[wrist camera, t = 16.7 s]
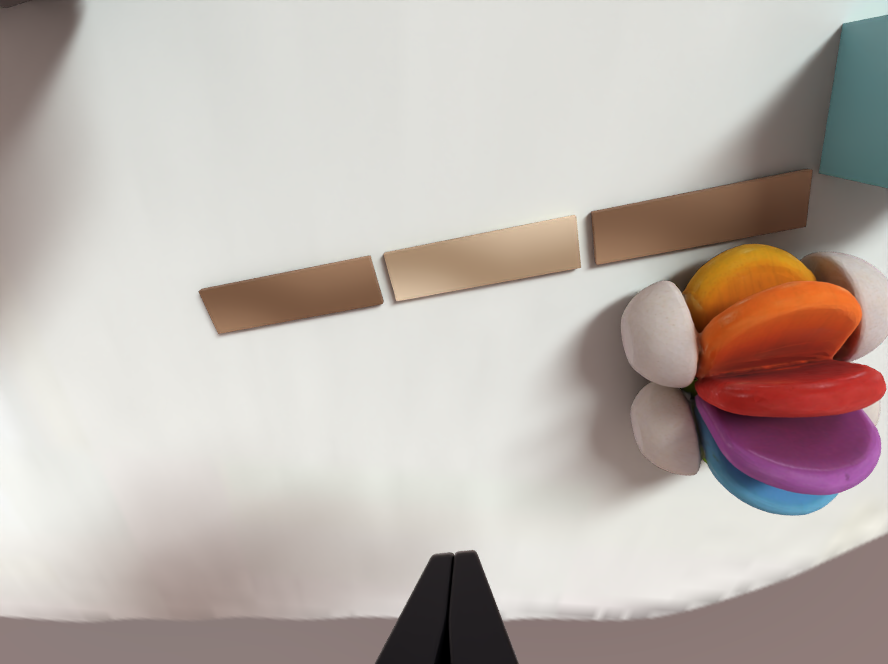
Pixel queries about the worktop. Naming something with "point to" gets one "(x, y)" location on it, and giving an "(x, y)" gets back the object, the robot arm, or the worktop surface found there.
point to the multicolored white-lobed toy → (762, 374)
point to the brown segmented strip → (518, 252)
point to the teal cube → (859, 106)
